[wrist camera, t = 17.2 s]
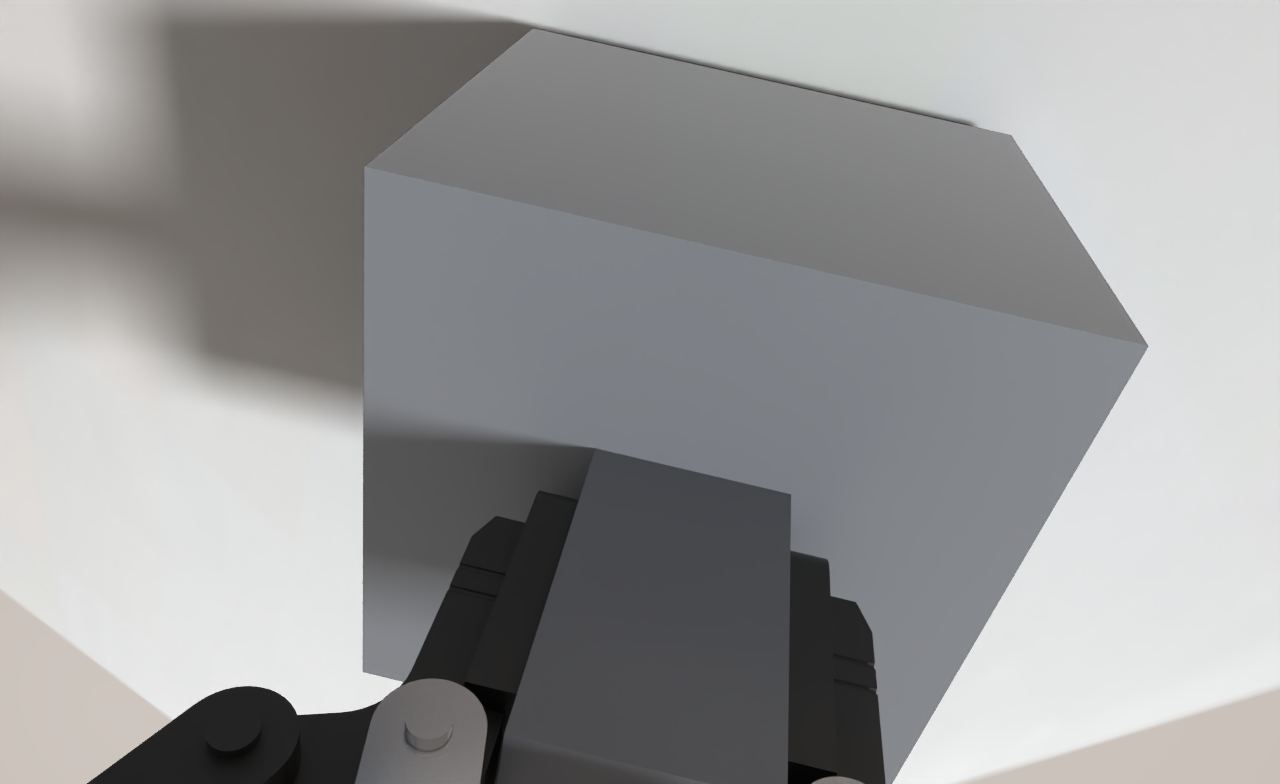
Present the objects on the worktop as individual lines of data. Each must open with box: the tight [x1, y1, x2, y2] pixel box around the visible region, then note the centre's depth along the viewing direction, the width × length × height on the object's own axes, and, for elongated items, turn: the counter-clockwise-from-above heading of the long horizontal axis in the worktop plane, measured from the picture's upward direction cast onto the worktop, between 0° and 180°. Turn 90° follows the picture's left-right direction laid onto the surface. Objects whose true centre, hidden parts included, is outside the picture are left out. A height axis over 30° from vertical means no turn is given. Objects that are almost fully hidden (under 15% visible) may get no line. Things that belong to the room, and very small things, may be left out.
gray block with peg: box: [363, 28, 1148, 784], centre depth 16 cm, size 10×10×14 cm
